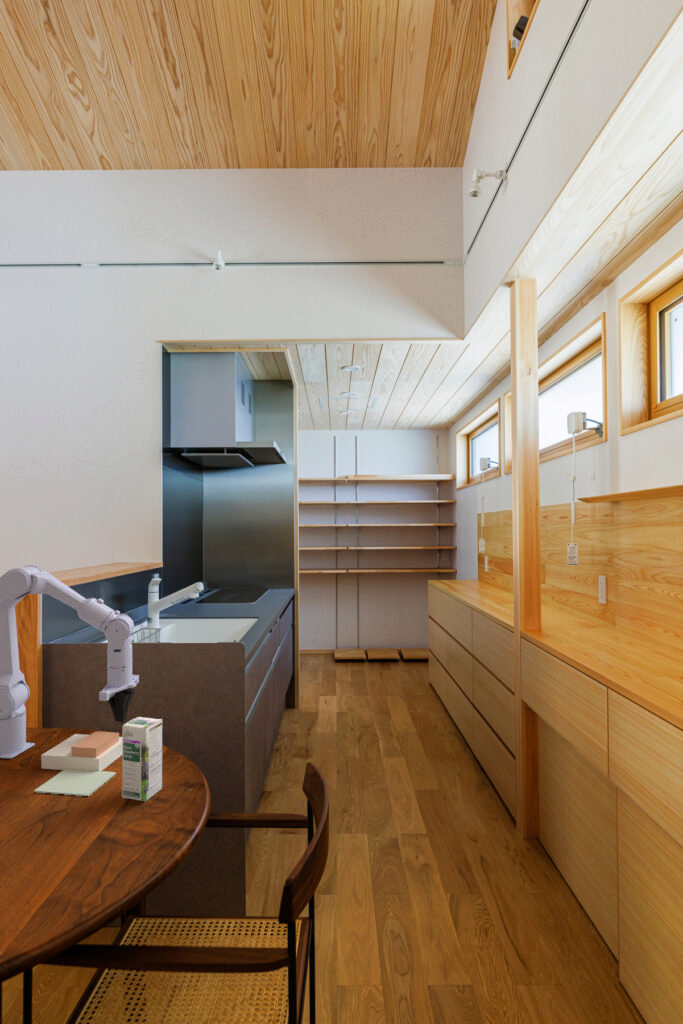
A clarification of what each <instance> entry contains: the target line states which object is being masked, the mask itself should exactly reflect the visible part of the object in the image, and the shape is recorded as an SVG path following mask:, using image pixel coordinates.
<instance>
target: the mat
mask: <svg viewBox="0 0 683 1024" xmlns="http://www.w3.org/2000/svg"><path fill="white" fill-rule="evenodd" d="M115 774H116V775H117V772H116V771H105V770H102V771H93V770H80V769H64V770H61V771H60V772H59V773H57V774H56V775H54V776H53V777H51V778H50V779H49V780H47V781H46V782H45V783H42V784H41V785H40V786H38V787H37V788H36V789H34V790H33V793H34V792H36V794H45V793H51V794H50V795H58V794H64V795H63V796H70V795H75V796H74V797H82V796H89V797H90V796H91V795H93V794H94V793H95V792H96V791H97V790H98V788H99V787H100V788H101V787H103V786H104V785H105V784H106V783H107V782H108V781H109V780H111V779H112V778H113V777H114V776H116V775H115ZM110 778H111V779H110ZM104 783H105V784H104ZM100 788H99V789H100ZM93 792H94V793H93Z"/></svg>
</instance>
